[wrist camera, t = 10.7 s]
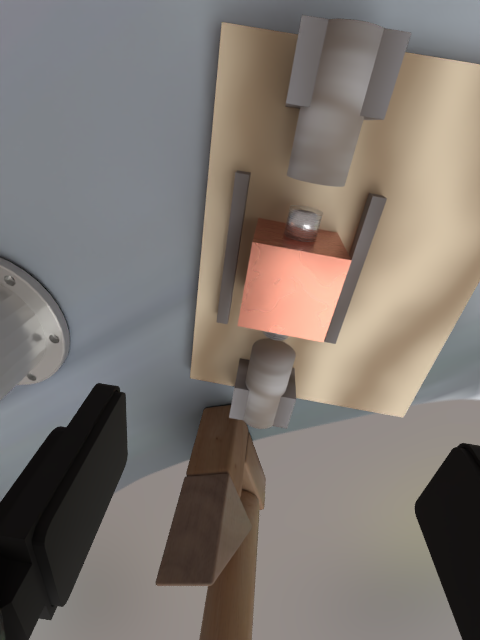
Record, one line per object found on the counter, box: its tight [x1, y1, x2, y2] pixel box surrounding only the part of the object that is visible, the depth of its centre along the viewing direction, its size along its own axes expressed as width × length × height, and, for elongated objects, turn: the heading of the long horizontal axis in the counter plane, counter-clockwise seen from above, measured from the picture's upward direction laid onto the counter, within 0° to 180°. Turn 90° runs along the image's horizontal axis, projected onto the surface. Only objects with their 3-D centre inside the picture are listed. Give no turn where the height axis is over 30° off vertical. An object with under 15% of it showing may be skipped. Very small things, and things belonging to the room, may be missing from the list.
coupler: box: [238, 205, 352, 342], centre depth 20 cm, size 5×8×5 cm, turn 171°
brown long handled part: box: [156, 405, 265, 640], centre depth 26 cm, size 4×11×18 cm, turn 15°
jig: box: [190, 15, 480, 429], centre depth 21 cm, size 18×23×5 cm
